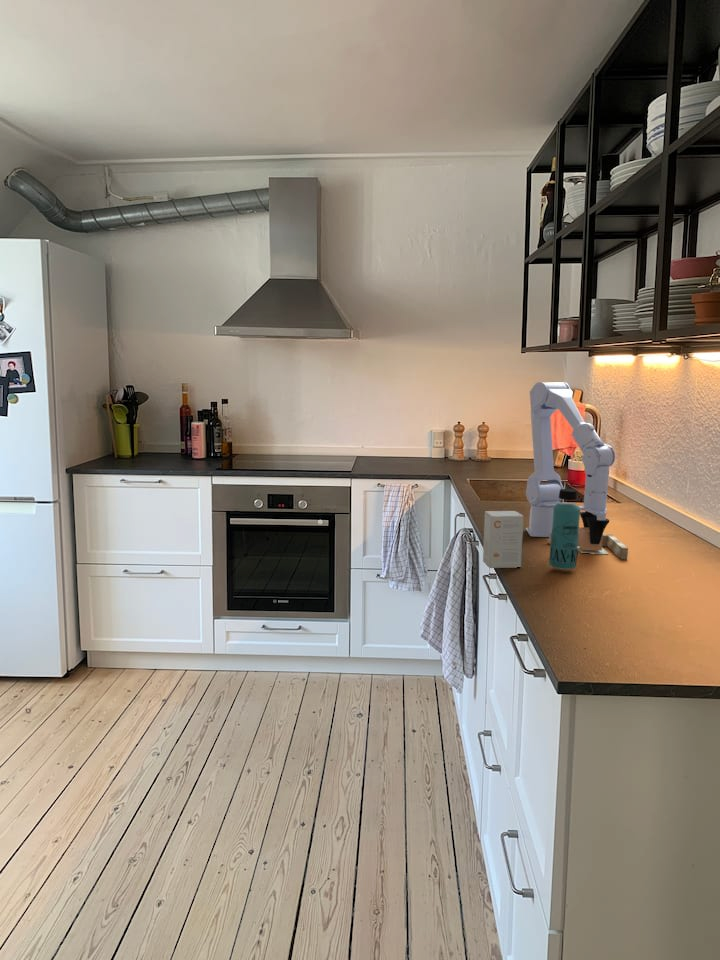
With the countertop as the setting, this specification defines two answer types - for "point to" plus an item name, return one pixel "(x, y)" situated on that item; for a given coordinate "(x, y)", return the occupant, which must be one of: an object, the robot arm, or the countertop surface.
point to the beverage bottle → (565, 532)
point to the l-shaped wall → (611, 545)
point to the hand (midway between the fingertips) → (592, 541)
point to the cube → (587, 540)
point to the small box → (503, 539)
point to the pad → (592, 551)
